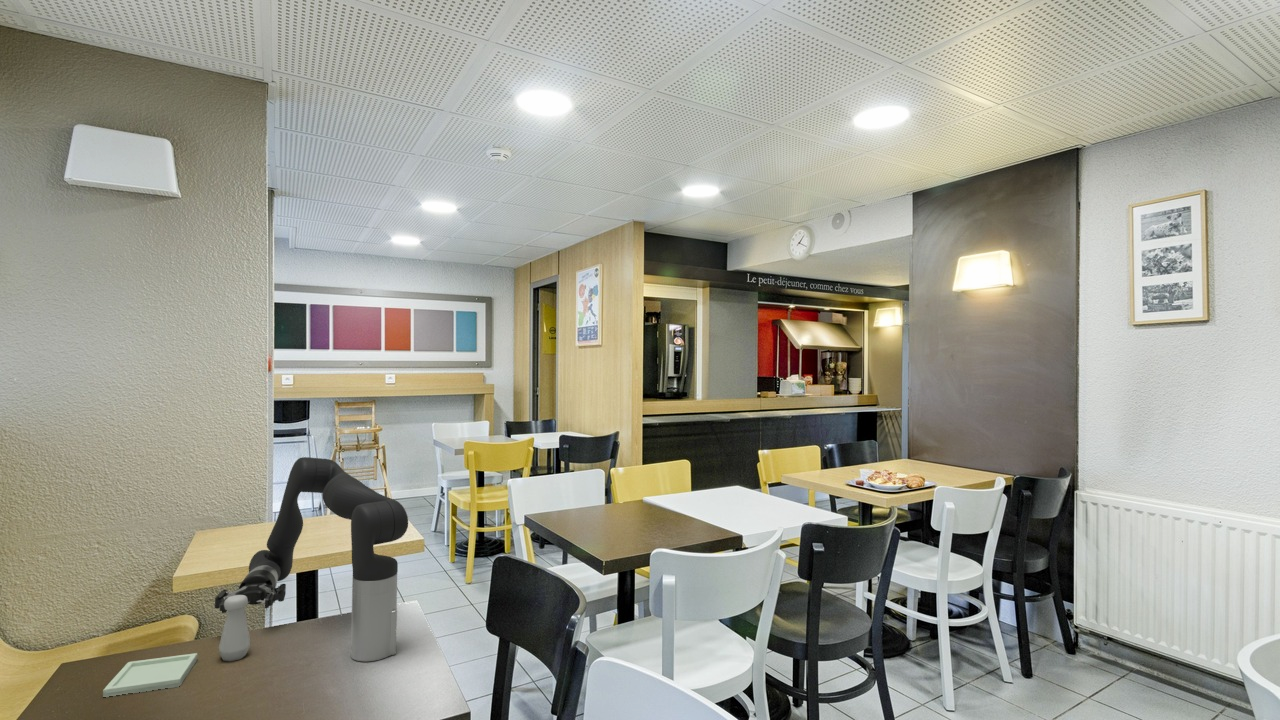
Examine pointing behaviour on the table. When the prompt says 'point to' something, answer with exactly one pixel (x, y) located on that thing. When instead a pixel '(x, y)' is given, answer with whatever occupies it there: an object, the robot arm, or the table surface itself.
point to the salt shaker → (235, 629)
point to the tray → (151, 675)
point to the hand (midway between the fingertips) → (245, 606)
